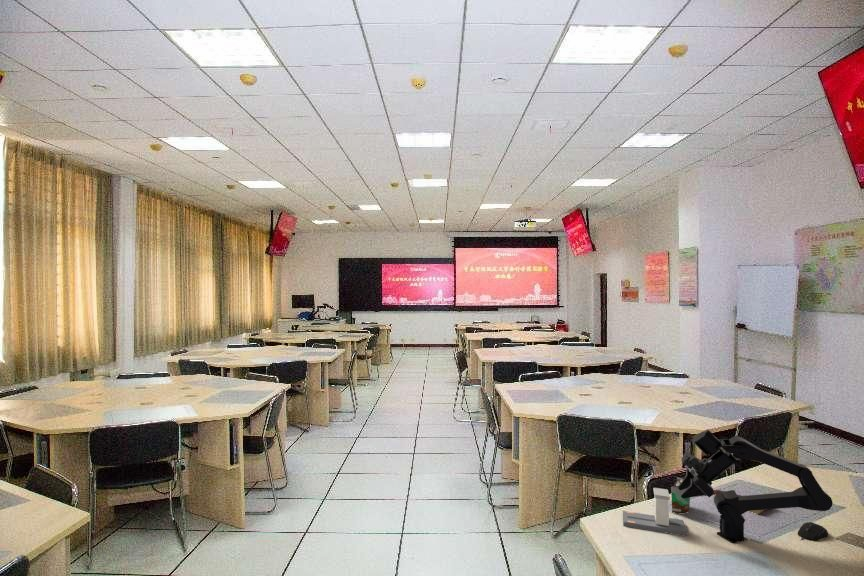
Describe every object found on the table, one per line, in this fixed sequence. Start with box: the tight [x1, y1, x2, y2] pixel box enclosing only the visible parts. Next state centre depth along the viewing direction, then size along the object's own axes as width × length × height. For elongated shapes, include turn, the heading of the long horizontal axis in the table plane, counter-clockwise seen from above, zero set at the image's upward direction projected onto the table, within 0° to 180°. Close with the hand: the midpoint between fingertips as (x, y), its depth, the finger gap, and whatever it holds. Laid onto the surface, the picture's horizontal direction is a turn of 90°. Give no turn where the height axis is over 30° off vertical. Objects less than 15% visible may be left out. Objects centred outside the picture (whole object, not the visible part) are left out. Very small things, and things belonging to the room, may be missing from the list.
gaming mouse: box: [797, 521, 829, 542], centre depth 160 cm, size 6×15×4 cm, turn 118°
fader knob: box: [653, 487, 671, 526], centre depth 166 cm, size 5×6×10 cm
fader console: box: [622, 510, 688, 537], centre depth 167 cm, size 20×9×2 cm, turn 69°
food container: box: [670, 477, 691, 514], centre depth 179 cm, size 12×6×10 cm, turn 143°
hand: (680, 493), depth 164 cm, fingers open, 7 cm apart
